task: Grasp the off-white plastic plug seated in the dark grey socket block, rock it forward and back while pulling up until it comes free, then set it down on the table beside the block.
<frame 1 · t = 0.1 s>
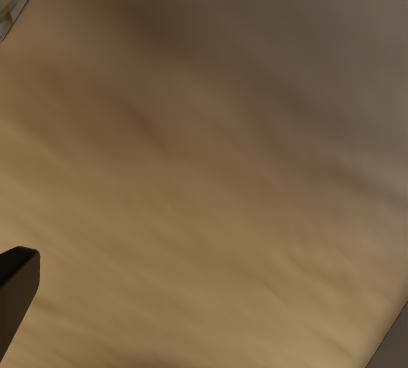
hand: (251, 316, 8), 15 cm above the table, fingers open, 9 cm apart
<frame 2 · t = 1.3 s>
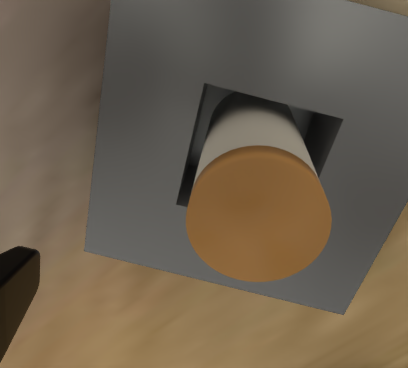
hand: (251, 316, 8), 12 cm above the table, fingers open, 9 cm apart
plug: (251, 130, 18), point 1 cm above the table, touching header
header: (250, 124, 19), on the table
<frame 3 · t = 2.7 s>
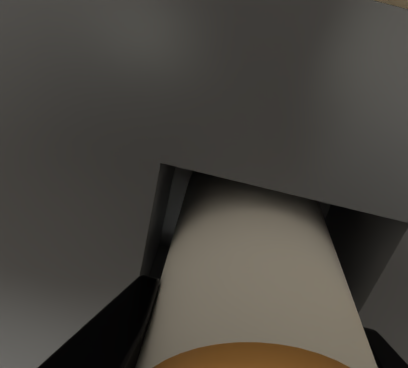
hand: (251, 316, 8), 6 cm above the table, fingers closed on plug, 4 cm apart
plug: (248, 201, 12), point 1 cm above the table, touching gripper, header
header: (248, 186, 13), on the table
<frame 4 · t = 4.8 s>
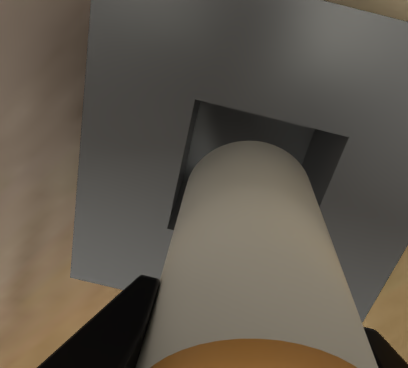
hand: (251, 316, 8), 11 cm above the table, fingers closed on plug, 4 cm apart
plug: (247, 199, 12), point 6 cm above the table, touching gripper
header: (248, 137, 18), on the table
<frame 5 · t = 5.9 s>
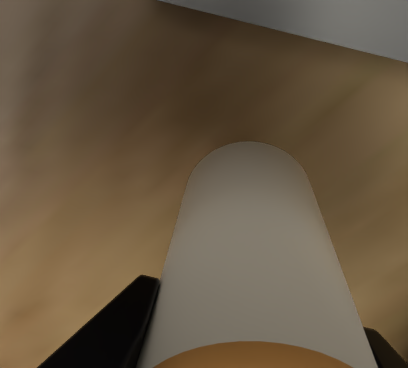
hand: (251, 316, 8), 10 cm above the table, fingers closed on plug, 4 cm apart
plug: (247, 200, 12), point 5 cm above the table, touching gripper
when the fingers open (6 cm above the table, at t = 6.9 s): plug drops 1 cm, on the table.
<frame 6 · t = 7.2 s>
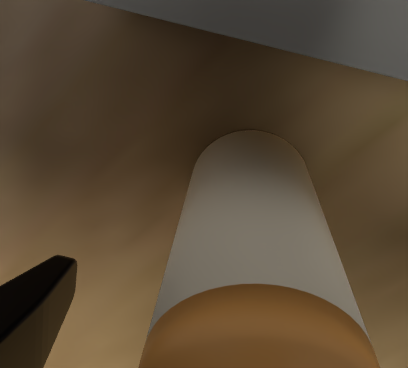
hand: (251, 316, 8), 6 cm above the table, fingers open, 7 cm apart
plug: (249, 185, 13), on the table
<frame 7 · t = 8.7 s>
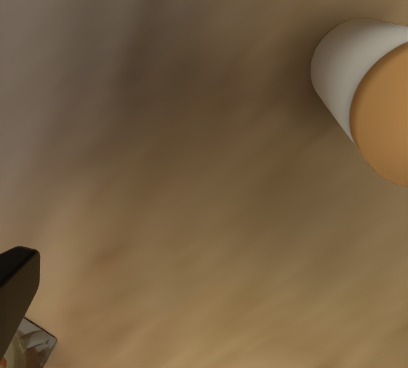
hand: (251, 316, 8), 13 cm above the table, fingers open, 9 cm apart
plug: (355, 66, 17), on the table
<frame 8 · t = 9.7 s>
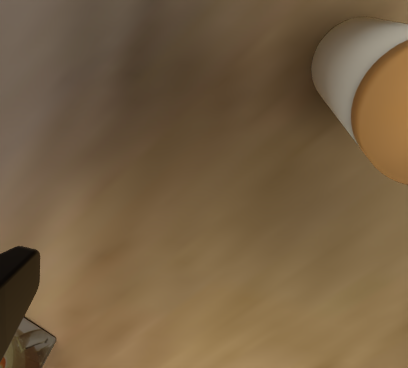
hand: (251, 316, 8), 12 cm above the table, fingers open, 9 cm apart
plug: (356, 65, 17), on the table
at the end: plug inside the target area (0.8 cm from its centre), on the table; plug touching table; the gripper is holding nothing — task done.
